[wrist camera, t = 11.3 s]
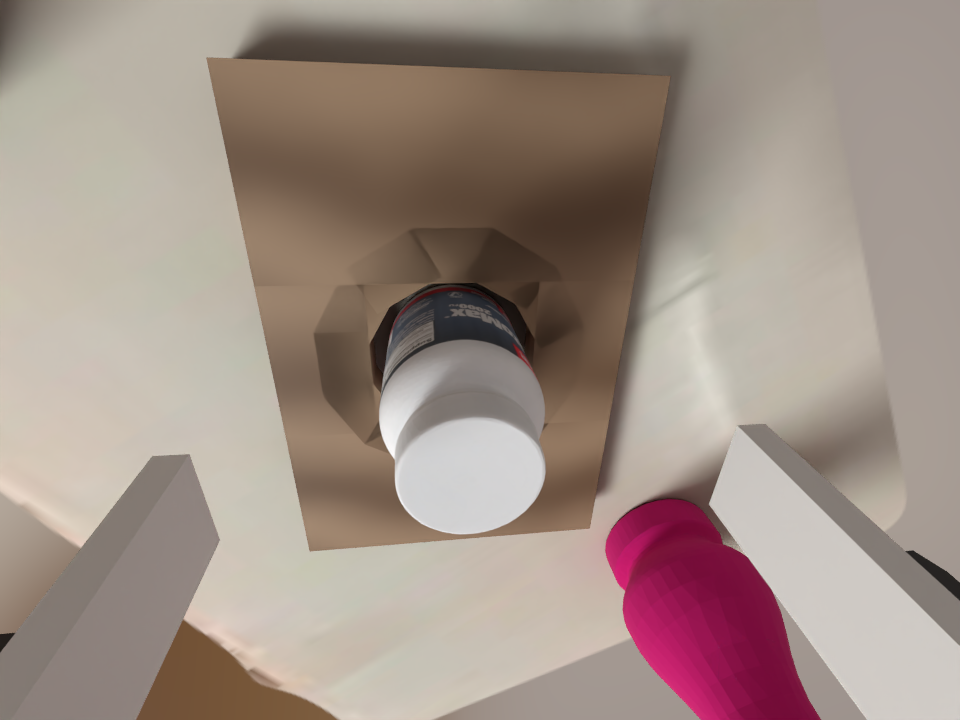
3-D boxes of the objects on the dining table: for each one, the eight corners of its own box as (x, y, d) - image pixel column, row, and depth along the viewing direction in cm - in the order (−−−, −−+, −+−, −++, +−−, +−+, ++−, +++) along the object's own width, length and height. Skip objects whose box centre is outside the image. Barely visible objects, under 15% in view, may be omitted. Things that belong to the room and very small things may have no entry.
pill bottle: (536, 333, 20) (612, 466, 12) (457, 412, 21) (481, 577, 14) (444, 254, 18) (465, 354, 10) (364, 347, 19) (328, 498, 12)
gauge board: (226, 64, 14) (206, 57, 13) (648, 80, 16) (670, 75, 15) (316, 525, 23) (309, 551, 22) (579, 505, 25) (589, 528, 24)
